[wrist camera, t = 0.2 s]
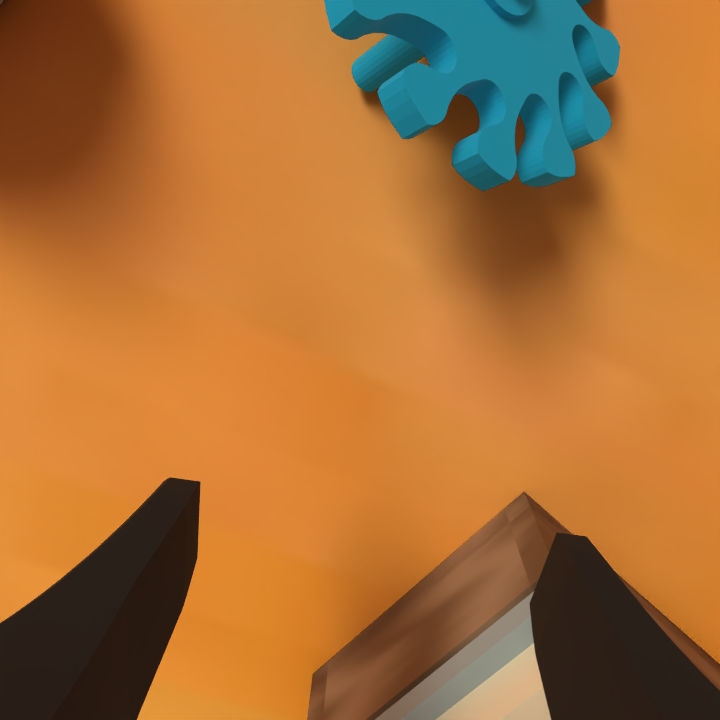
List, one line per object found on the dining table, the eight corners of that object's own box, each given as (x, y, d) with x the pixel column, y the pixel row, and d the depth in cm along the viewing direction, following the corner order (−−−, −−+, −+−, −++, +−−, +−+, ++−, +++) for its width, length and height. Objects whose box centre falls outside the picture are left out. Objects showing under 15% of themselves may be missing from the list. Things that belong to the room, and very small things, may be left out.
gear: (676, 133, 19) (457, 225, 13) (513, 195, 24) (299, 282, 18) (555, -280, 17) (240, -391, 11) (406, -125, 22) (128, -146, 16)
